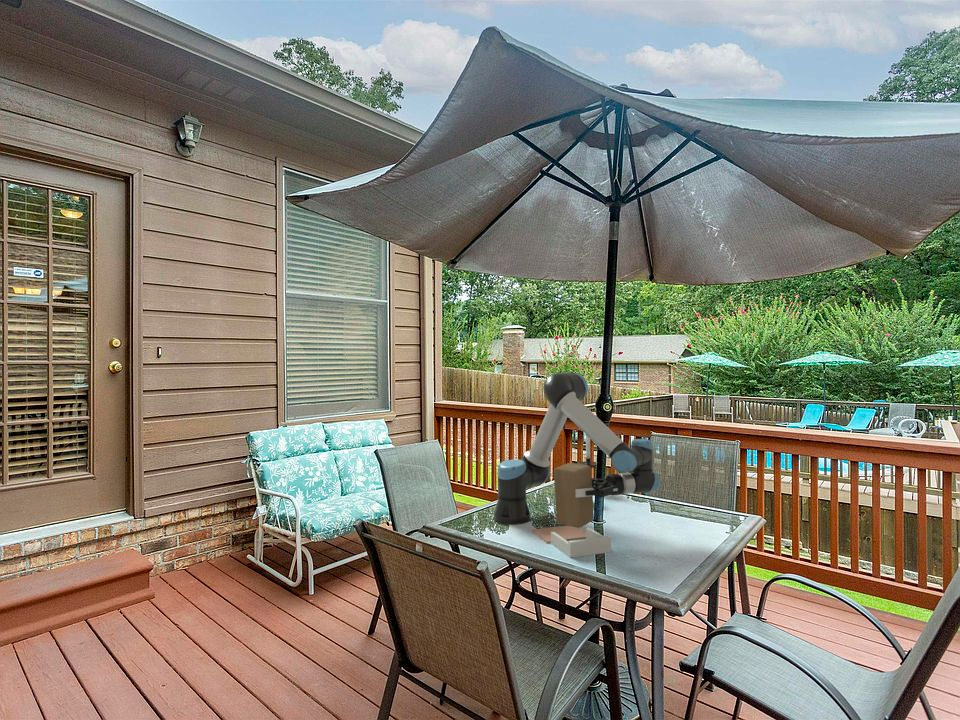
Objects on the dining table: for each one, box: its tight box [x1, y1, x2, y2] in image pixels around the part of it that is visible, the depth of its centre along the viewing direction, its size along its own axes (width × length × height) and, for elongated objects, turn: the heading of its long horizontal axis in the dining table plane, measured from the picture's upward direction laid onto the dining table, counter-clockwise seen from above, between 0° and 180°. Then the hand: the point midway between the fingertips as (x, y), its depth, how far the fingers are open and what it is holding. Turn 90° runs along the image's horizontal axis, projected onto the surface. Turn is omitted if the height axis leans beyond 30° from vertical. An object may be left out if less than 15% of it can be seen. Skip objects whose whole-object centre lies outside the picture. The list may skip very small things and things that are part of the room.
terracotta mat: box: [530, 525, 586, 544], centre depth 198 cm, size 18×14×1 cm
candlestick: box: [576, 434, 597, 469], centre depth 260 cm, size 11×11×35 cm
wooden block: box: [553, 462, 595, 529], centre depth 188 cm, size 10×10×20 cm
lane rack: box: [550, 527, 612, 558], centre depth 184 cm, size 14×15×5 cm
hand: (566, 488), depth 187 cm, fingers closed on wooden block, 13 cm apart
